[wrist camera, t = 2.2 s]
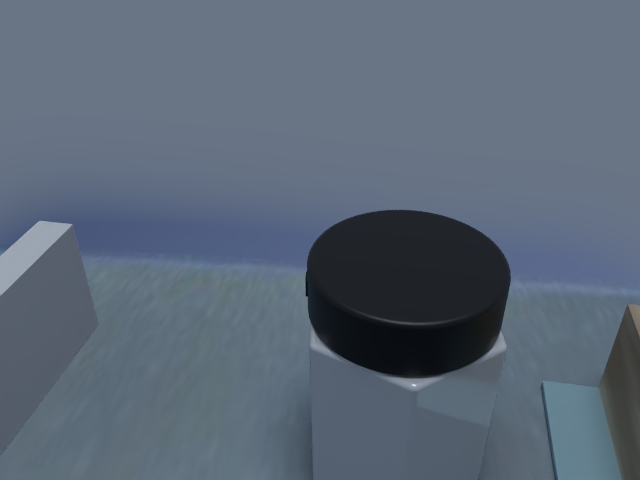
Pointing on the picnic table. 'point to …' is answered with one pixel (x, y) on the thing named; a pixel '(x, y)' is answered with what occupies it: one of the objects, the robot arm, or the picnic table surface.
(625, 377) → the base block
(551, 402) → the build board
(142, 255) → the picnic table surface
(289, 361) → the picnic table surface
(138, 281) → the picnic table surface
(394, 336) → the jar
